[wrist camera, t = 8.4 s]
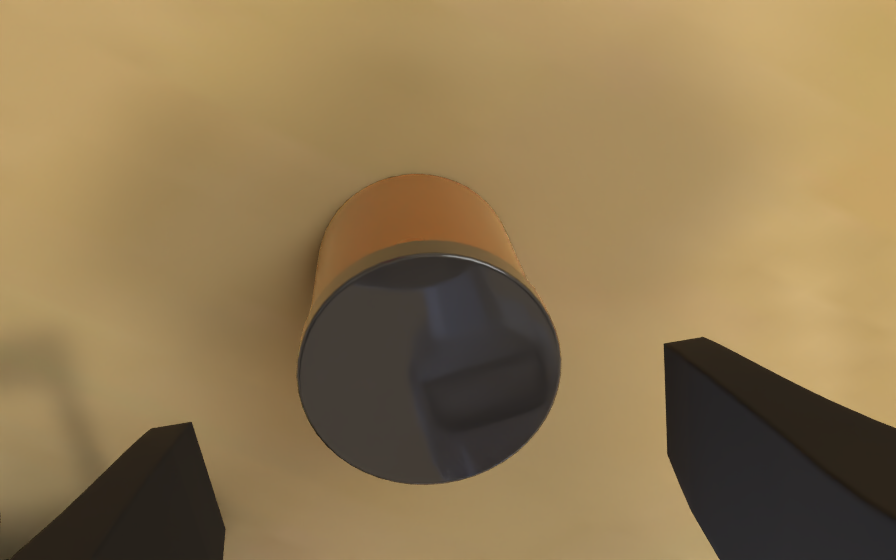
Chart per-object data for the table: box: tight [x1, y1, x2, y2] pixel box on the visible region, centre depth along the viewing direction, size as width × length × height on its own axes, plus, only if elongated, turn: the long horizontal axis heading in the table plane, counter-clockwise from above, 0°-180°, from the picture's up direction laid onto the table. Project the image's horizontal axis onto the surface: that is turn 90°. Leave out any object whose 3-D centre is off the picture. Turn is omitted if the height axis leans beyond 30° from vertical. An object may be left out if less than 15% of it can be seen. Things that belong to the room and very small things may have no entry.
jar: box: [296, 174, 561, 485], centre depth 16 cm, size 5×5×5 cm
